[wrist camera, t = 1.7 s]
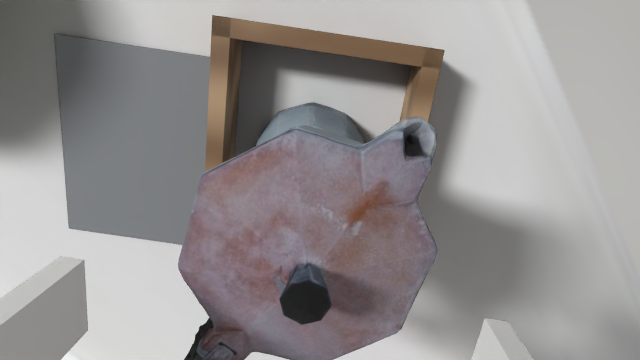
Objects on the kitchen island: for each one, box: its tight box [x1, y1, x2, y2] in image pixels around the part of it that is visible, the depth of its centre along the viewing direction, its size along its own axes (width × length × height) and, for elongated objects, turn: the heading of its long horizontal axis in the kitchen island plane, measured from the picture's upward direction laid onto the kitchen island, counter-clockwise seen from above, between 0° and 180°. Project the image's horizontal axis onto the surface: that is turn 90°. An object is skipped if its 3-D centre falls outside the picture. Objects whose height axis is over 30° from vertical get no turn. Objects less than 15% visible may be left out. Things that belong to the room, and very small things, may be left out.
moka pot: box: [178, 102, 437, 360], centre depth 21 cm, size 10×15×20 cm, turn 144°
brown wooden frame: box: [205, 15, 444, 172], centre depth 28 cm, size 18×15×4 cm
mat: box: [54, 34, 210, 245], centre depth 30 cm, size 16×12×1 cm
